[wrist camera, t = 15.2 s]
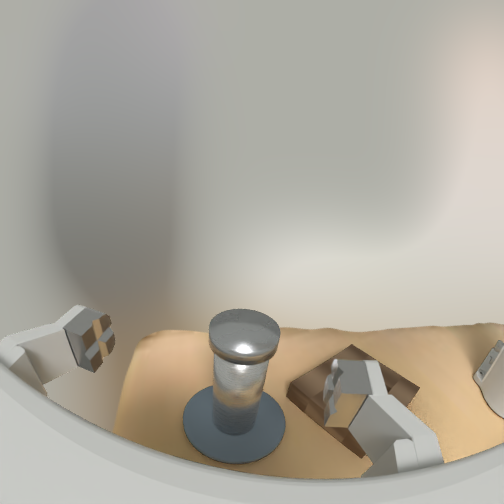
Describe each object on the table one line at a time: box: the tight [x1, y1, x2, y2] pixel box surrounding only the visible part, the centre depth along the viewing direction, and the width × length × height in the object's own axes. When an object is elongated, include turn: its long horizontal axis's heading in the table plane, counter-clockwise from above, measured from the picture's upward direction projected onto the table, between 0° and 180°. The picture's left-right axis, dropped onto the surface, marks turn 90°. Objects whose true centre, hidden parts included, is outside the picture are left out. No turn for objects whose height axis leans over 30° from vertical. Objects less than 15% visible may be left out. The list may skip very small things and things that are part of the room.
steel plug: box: [209, 309, 280, 436], centre depth 25 cm, size 6×6×14 cm
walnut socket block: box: [286, 344, 420, 459], centre depth 31 cm, size 14×14×3 cm
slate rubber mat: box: [183, 386, 285, 464], centre depth 28 cm, size 12×12×1 cm
